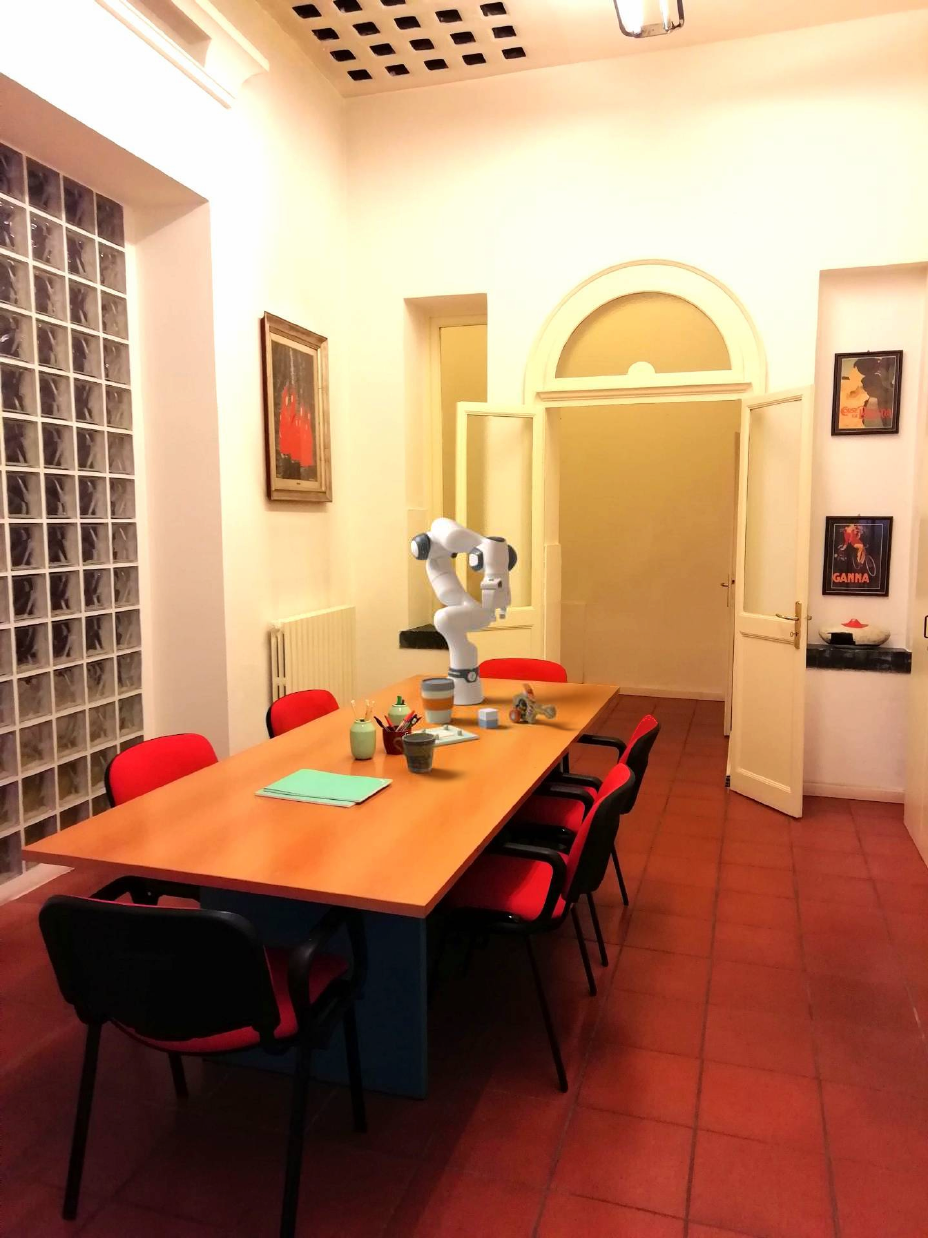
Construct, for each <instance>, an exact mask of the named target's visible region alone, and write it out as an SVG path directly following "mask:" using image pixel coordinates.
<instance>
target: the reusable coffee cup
mask: <svg viewBox="0 0 928 1238" xmlns="http://www.w3.org/2000/svg"><path fill="white" fill-rule="evenodd" d="M454 688H455V685H454V680H453V679H451V678H447V677H428V678H424V679H422V680H420V690H421V702H422V707H423V709H424V714H425V721H426V723H428V724H433V725H441V724H447V723H450V722H451V720H452V711H453V708H454V705H455V704H454V695H453V693H454Z"/></svg>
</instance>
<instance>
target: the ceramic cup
mask: <svg viewBox="0 0 928 1238" xmlns="http://www.w3.org/2000/svg"><path fill="white" fill-rule="evenodd" d="M396 741H399V742H401V743H402V746H403V749H402V748H400V747H399V746H398V745H397V744H396ZM435 741H436V736H435V735H433V734H430V733H412V734H407V735H406V734H404V735H403V736H402V738H401V737H396V738H394V741H393V746H394V747H395V748H396V749H397V750H398V751H400V752H401V754H402V755H404V757H405V760H406V764H407V765H406V766H407V769H408V771H409V772H411V773H416V774H417V773H418V774H423V773H428V772H430V771H431V770H432V768H433V759H434V753H435V747H436V746H435Z"/></svg>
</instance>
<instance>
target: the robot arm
mask: <svg viewBox="0 0 928 1238" xmlns="http://www.w3.org/2000/svg"><path fill="white" fill-rule="evenodd" d="M410 551H411V554H412V556H413V557H414V559H416V560H417V561H426V564H425V569H426V573H427V577H428V579H429V583H430V584H431V586H432V589H433V591H434V593H435V595H436V597H437V600H438V601H439V603H441V604H443V605H444V606H446V607H443V608H440V609H438V610H437V611H436V612H435V614H434V617H433V625H434V627H435V629H436V631H437V632H438V633H440V635H442V637H444V639H445V641H446V642H447V646H448V650H449V661H450V662H449V663H450V665H449V667H448V670H447V671H448V673H447V677H446V678H451V679H453V680H454V685H455V688H454V693H453V695H454V704H453V705H456V706H457V705H458V706H459V705H461V706H462V705H463V706H466V705H468V706H469V705H476V704H480V703H482V702H483V700H485V699H486V697H485V695H484V694H483V684H482V679H481V678H480V677H479V676H480V666H479V660H478V657H479V656H478V655H479V654H478V648H477V646H476V644H474V643H473V642H471V641H469V639H468V635H467V633H472V632H479V631H482V630H484V629H486V628H488V627H489V626H490V625H491V623H496V622H497V616H496V610H497V609H499V610H500V613H499V619H500V620H505V619H506V615H507V614H506V613H507V610H508V609H507V607H509V606H510V605H511V604H512V593H511V592H512V591H511V586H510V572H511V571H512V570H513V569H514V568H515V566H516V565H517V562H518V555H517V552H516V550H515V549H514V547H513V546H512V545H511V544H508V541H507V539H506V538H505V537H501V536H484V535H482V534H480V533H477V532H475V531H473V530H471V529H470V528H467V527H465V526H464V525H462V524H460V523H458V522H457V521H455V520H453V519H451V518H448V517H439V518H437V519H435V520H434V521H433V522H432V523H431V526H430V531H428V532H422V533H419V534H417V535H415V536H414V537H412V539H411V541H410ZM464 553H465V554H468V558H467V559H468V560H467V562H468V565H469V567H470V569H472V571H474V572H477V573H484V578H483V580H482V581H481V582H480V589H482V590H481V602H479V601H478V600H476V599H475V598H474V597H473V596H471V594H470V593H469V592H467V591H466V589H465V588H464V586H463V584H462V582H461V581H460V578H459V577H458V575H457V573H456V571H455V568H454V567H453V566H452V563H451V559H456V558H457V557H458V554H464Z"/></svg>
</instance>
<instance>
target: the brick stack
mask: <svg viewBox="0 0 928 1238" xmlns="http://www.w3.org/2000/svg"><path fill="white" fill-rule="evenodd" d="M477 713H478V714H477V715H478V717H477V719H478V727H479V728H483V729H485V730H488V729H495V728H498V727H499V710H498V709H494V708H491V707H488V708H481V709H478V712H477Z"/></svg>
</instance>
